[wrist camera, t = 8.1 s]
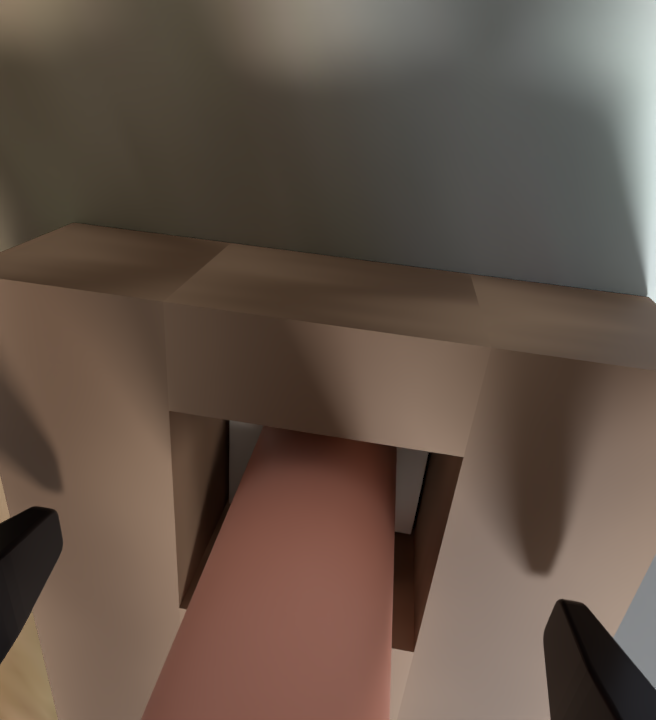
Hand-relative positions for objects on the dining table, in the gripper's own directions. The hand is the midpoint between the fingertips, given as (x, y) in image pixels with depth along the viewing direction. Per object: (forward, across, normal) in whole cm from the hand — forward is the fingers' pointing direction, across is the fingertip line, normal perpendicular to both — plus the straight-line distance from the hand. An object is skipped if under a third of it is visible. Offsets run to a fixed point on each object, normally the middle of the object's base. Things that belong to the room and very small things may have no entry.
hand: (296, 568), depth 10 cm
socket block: (+4, 0, +4) cm, 6 cm away
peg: (+4, 0, 0) cm, 4 cm away
